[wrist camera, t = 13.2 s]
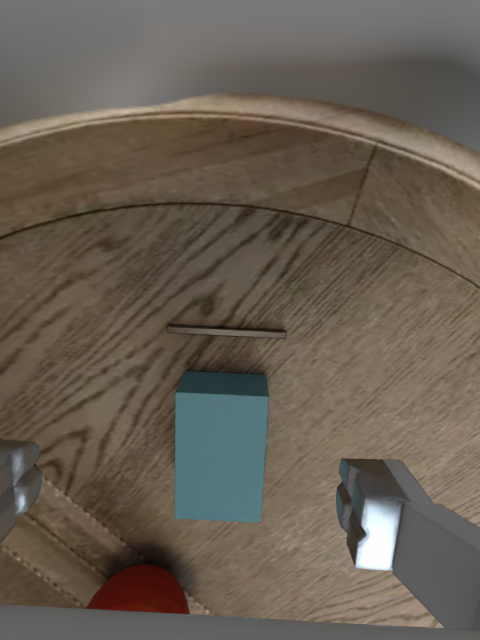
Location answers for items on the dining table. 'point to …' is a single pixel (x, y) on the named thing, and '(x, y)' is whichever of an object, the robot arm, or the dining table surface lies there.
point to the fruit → (141, 591)
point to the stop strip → (226, 331)
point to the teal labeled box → (220, 446)
